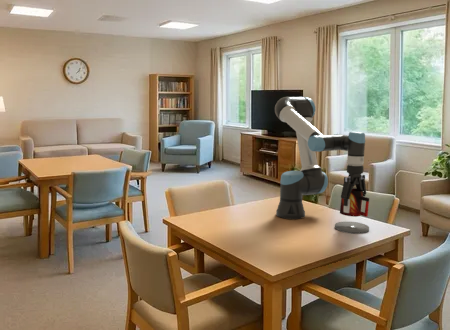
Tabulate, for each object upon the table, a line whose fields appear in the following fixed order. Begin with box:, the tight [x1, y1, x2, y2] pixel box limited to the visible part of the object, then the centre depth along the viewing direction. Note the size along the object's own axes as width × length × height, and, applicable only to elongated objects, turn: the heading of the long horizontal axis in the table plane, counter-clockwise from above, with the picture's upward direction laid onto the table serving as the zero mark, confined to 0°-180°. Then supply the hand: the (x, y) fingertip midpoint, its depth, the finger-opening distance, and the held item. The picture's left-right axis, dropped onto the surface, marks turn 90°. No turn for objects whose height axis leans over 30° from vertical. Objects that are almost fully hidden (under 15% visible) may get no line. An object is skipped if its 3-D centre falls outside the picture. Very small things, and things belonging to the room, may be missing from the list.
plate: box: [334, 221, 370, 235], centre depth 217 cm, size 16×16×1 cm
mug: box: [339, 187, 370, 218], centre depth 215 cm, size 10×14×12 cm
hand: (352, 210), depth 216 cm, fingers closed on mug, 10 cm apart
